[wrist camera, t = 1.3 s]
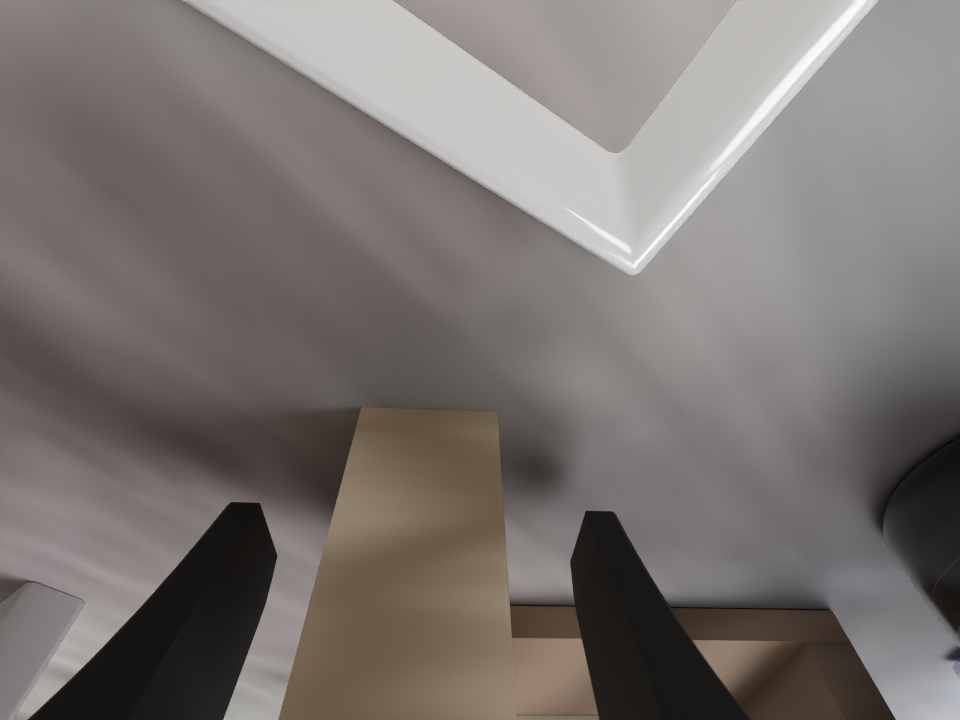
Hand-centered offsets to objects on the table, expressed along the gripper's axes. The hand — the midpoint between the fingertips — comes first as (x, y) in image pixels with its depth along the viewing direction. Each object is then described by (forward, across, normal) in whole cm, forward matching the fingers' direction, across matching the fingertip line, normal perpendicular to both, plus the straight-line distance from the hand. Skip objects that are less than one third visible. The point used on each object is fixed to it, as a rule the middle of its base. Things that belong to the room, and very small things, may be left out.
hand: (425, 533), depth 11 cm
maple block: (+2, 0, 0) cm, 2 cm away
